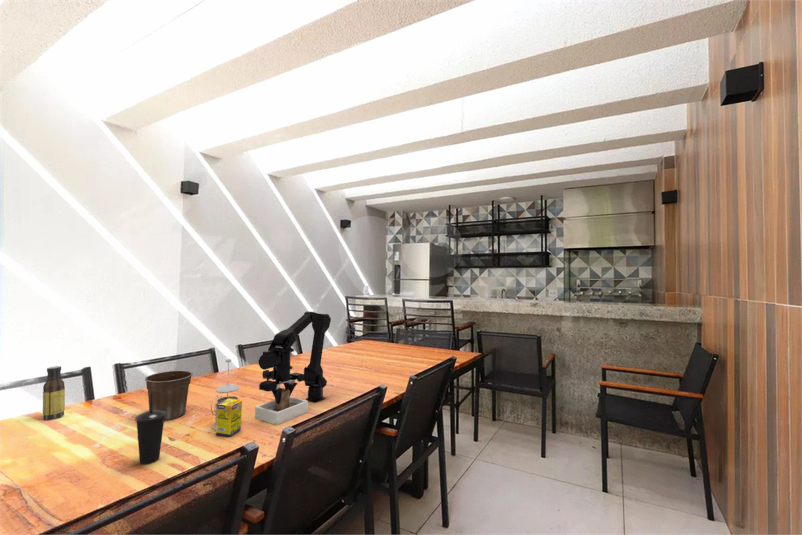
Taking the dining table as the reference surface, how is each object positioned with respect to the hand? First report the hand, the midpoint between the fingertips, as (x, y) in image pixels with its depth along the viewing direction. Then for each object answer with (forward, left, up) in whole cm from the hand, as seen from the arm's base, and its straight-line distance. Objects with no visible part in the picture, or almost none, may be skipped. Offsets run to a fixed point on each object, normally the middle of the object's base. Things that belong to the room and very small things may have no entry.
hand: (282, 402), depth 145 cm
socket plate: (0, 0, -5) cm, 5 cm away
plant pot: (+25, -38, -5) cm, 46 cm away
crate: (0, 0, -5) cm, 5 cm away
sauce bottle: (+50, -74, -5) cm, 89 cm away
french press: (+19, -9, -5) cm, 22 cm away
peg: (0, 0, -2) cm, 2 cm away
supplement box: (+22, -3, -5) cm, 22 cm away
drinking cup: (+46, -5, -5) cm, 47 cm away
